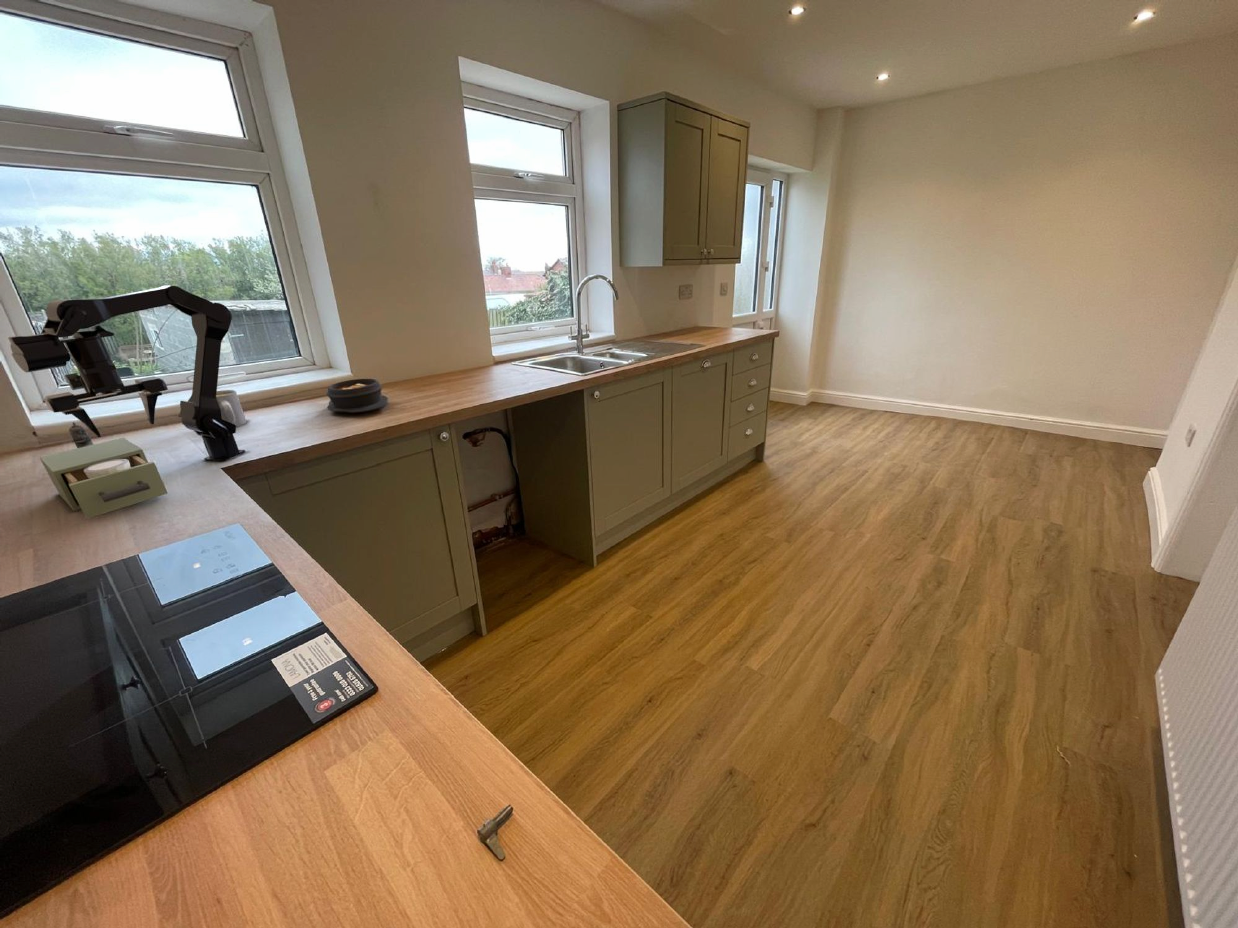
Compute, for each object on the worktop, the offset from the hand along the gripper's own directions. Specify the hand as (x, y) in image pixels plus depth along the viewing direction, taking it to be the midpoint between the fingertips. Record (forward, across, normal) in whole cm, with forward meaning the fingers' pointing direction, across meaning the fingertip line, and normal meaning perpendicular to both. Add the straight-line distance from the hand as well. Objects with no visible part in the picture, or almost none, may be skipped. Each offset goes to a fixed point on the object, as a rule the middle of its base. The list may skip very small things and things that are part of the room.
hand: (126, 430), depth 113 cm
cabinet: (+13, +7, -3) cm, 15 cm away
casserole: (+14, -59, -12) cm, 61 cm away
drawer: (+12, +7, +10) cm, 17 cm away
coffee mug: (+13, -28, -33) cm, 45 cm away
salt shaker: (+13, +4, -26) cm, 30 cm away
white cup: (+11, +7, +10) cm, 16 cm away
